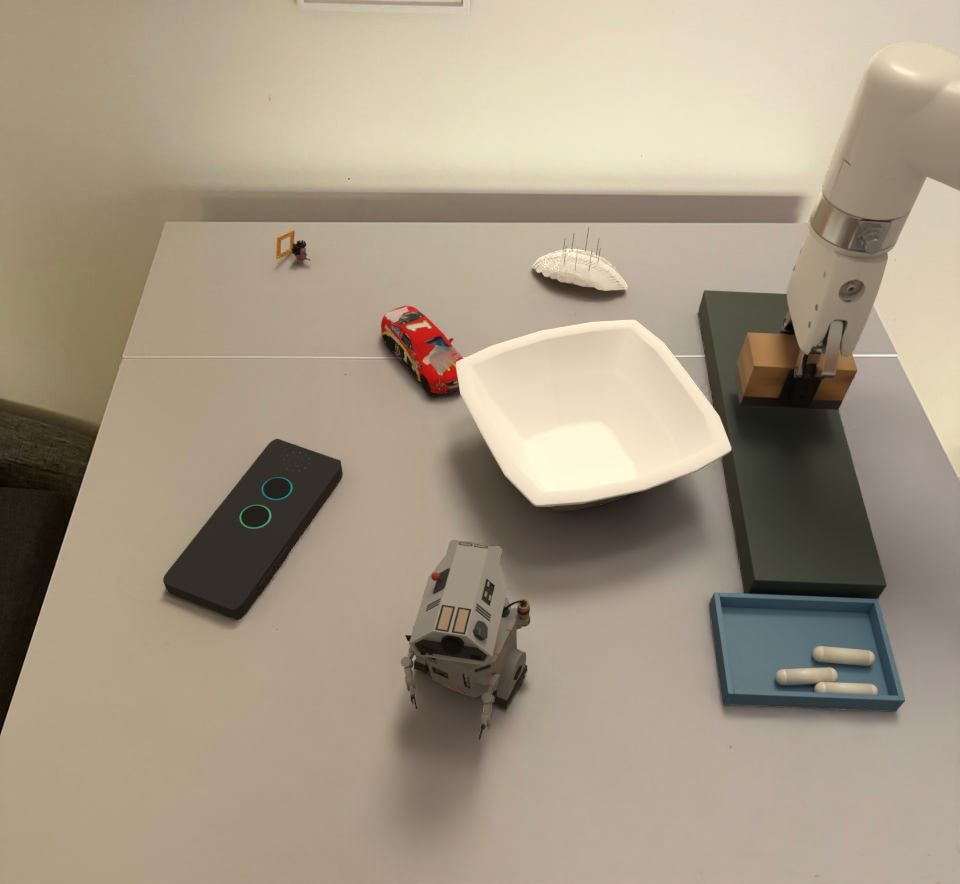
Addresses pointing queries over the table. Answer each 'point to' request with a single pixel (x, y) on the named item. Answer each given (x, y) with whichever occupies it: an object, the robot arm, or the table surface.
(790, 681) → the chalk
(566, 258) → the pincushion
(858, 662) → the chalk
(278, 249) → the toy figure with frame
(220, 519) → the smart home device
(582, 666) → the table surface
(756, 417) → the board
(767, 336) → the eraser
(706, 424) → the bowl
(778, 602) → the tray
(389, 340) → the race car
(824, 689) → the chalk
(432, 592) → the figurine
